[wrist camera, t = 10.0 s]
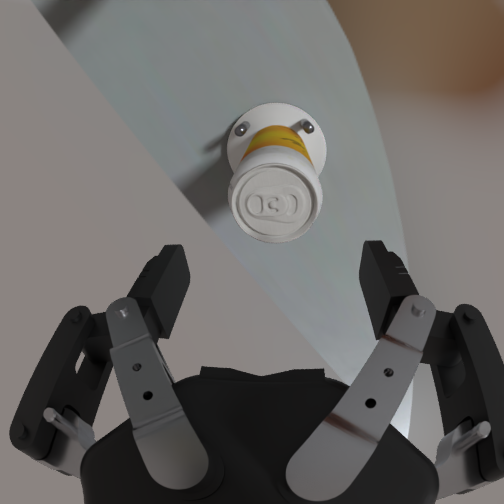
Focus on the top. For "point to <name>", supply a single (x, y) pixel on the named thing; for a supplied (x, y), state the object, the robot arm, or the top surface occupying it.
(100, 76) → the top surface
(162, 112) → the top surface
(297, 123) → the pin tray
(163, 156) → the top surface
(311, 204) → the beer can
